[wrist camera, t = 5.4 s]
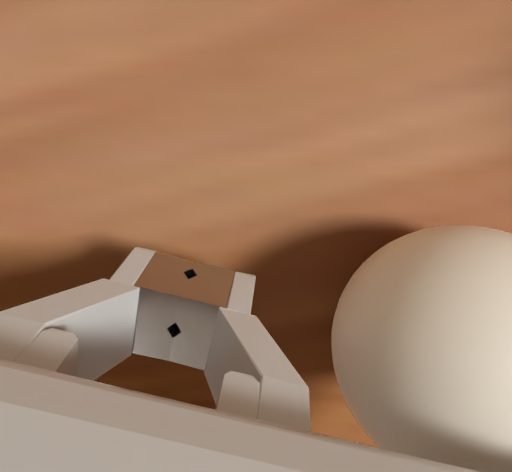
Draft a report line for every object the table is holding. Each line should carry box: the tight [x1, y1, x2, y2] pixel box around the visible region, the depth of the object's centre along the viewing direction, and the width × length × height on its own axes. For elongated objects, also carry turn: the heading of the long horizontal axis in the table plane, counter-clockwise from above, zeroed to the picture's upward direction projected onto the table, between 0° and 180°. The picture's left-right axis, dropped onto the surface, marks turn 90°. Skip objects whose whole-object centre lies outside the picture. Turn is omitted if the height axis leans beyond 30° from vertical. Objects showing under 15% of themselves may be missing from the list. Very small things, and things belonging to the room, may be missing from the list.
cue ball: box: [331, 225, 512, 472], centre depth 9 cm, size 6×6×6 cm
